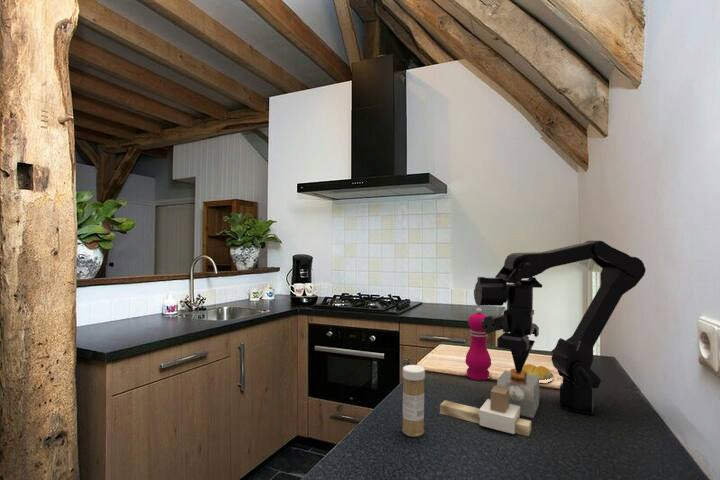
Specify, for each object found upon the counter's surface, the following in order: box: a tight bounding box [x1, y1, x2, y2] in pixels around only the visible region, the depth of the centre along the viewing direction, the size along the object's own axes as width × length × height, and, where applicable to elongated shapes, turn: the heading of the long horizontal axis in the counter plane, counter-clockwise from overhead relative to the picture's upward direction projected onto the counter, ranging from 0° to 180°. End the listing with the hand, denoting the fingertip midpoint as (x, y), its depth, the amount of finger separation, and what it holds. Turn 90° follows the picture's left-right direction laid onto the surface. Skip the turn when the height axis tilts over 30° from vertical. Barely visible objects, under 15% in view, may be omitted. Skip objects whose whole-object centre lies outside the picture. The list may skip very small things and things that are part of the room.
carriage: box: [479, 384, 520, 435], centre depth 85 cm, size 7×7×8 cm
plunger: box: [510, 368, 527, 381], centre depth 95 cm, size 4×4×6 cm
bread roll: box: [522, 363, 554, 380], centre depth 114 cm, size 8×9×4 cm
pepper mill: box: [464, 307, 492, 381], centre depth 115 cm, size 7×7×20 cm
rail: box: [439, 399, 532, 437], centre depth 87 cm, size 19×3×2 cm, turn 58°
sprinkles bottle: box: [401, 364, 426, 438], centre depth 82 cm, size 5×5×14 cm
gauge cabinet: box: [496, 370, 540, 419], centre depth 94 cm, size 8×8×7 cm
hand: (518, 371), depth 94 cm, fingers closed, pressing on plunger
